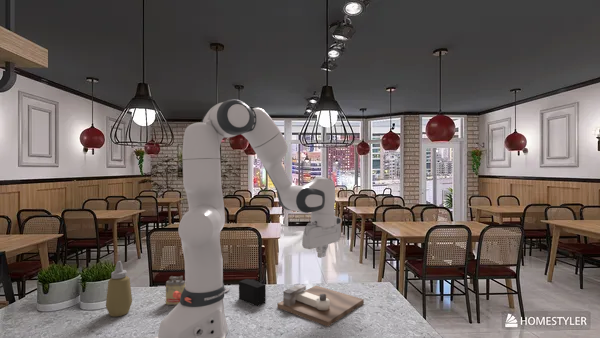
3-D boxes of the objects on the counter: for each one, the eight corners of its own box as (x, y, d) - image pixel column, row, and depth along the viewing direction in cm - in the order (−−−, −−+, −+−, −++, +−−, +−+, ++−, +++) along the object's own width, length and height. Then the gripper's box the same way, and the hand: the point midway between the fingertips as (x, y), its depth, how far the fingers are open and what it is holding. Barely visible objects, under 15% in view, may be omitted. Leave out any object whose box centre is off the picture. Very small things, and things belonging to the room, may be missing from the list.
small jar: (164, 305, 121) (163, 277, 121) (168, 300, 125) (168, 274, 125) (183, 305, 121) (183, 278, 121) (187, 301, 125) (186, 274, 125)
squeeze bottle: (123, 306, 120) (123, 257, 120) (137, 311, 116) (137, 260, 116) (100, 315, 113) (100, 262, 113) (114, 320, 109) (113, 266, 109)
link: (332, 307, 115) (332, 300, 115) (323, 311, 111) (323, 304, 111) (295, 293, 127) (295, 287, 127) (286, 297, 124) (286, 290, 124)
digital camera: (268, 302, 124) (268, 283, 124) (257, 306, 120) (257, 287, 120) (249, 295, 131) (249, 277, 131) (238, 299, 127) (238, 281, 127)
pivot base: (328, 326, 105) (328, 307, 105) (277, 307, 119) (277, 290, 119) (363, 303, 123) (363, 286, 122) (316, 289, 137) (315, 274, 137)
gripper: (312, 224, 115) (311, 264, 115) (344, 218, 131) (342, 253, 131) (298, 222, 119) (297, 260, 119) (330, 216, 135) (329, 250, 135)
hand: (321, 256), depth 125 cm, fingers closed
